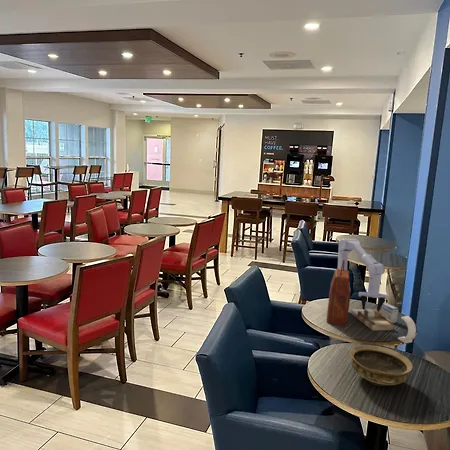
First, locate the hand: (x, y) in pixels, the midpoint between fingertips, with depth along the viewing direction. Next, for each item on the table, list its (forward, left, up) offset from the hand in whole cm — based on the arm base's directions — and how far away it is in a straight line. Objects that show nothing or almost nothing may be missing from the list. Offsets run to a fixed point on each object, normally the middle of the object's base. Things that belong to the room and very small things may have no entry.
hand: (370, 310), depth 218 cm
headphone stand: (+17, +11, -10) cm, 22 cm away
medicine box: (-9, +18, -10) cm, 23 cm away
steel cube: (-7, +4, -7) cm, 11 cm away
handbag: (-12, -12, -10) cm, 20 cm away
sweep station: (-9, +6, -10) cm, 14 cm away
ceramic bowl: (+51, -26, -10) cm, 58 cm away
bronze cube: (-7, +9, -7) cm, 13 cm away
